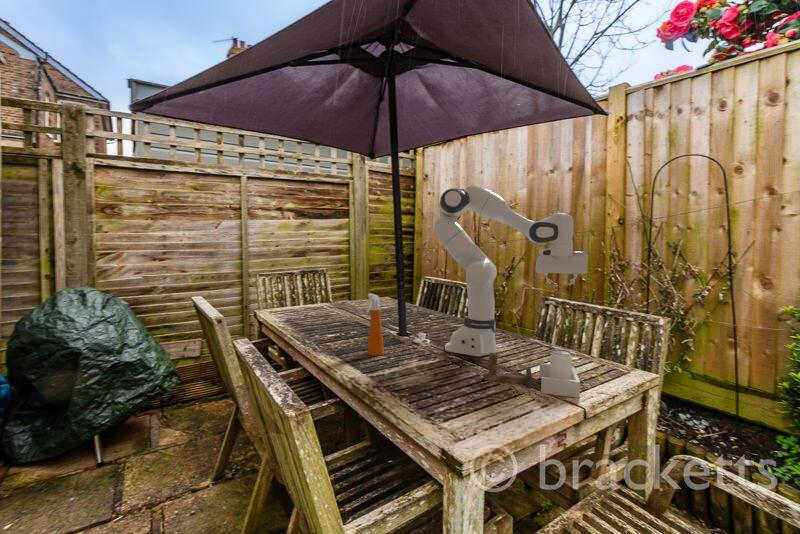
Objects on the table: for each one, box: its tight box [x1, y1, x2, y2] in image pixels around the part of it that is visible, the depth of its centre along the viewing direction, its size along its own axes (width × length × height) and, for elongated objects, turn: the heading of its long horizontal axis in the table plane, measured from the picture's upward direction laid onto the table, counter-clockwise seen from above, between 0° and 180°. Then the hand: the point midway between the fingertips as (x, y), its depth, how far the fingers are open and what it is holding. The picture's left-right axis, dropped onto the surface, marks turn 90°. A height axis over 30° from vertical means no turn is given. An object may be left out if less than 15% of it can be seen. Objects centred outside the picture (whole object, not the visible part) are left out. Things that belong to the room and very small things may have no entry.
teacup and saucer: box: [413, 332, 431, 345], centre depth 175 cm, size 9×8×4 cm
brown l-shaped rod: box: [483, 352, 532, 389], centre depth 127 cm, size 16×8×9 cm, turn 72°
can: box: [549, 348, 573, 380], centre depth 121 cm, size 6×6×12 cm
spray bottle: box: [365, 293, 385, 357], centre depth 154 cm, size 7×11×26 cm, turn 155°
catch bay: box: [538, 362, 581, 399], centre depth 122 cm, size 11×14×5 cm
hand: (560, 283), depth 158 cm, fingers open, 8 cm apart
